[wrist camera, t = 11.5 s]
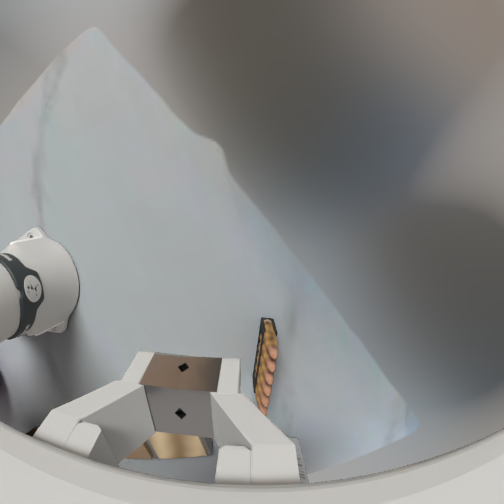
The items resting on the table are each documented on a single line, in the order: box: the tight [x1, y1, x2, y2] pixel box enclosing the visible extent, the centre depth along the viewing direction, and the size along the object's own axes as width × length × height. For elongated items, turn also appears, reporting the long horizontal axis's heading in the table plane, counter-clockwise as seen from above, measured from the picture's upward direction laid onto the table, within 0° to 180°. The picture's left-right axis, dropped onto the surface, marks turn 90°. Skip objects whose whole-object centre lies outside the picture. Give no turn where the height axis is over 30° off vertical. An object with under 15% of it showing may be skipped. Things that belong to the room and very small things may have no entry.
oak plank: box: [148, 431, 207, 459], centre depth 42 cm, size 9×8×1 cm
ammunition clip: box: [253, 318, 278, 416], centre depth 39 cm, size 11×2×12 cm, turn 173°
